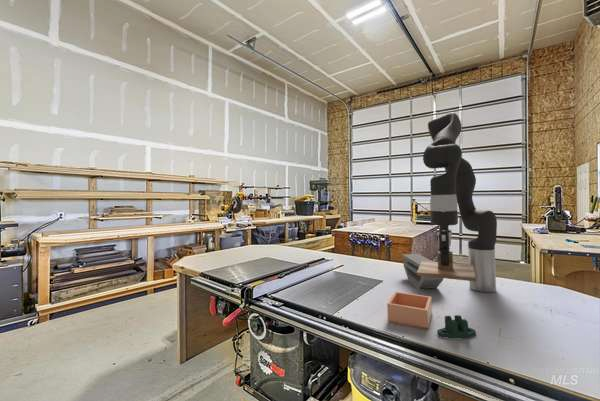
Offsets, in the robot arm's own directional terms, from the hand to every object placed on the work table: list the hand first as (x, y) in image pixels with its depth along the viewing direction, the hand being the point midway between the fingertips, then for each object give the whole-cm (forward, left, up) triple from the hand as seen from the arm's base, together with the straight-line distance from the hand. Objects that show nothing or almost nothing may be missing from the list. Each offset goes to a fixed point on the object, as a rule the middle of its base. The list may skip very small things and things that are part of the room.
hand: (445, 263), depth 84 cm
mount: (+5, +3, -20) cm, 21 cm away
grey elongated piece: (-37, -12, -20) cm, 44 cm away
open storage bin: (0, -11, -19) cm, 22 cm away
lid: (0, 0, -3) cm, 3 cm away
